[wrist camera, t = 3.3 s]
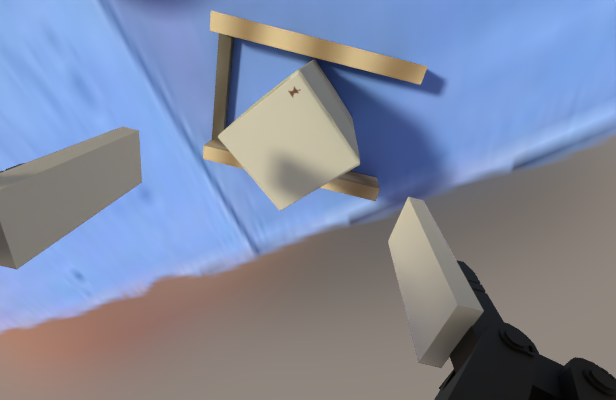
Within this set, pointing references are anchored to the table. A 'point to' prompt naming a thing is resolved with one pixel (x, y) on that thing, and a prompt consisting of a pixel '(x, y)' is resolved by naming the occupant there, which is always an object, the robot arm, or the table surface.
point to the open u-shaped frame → (306, 46)
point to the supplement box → (295, 137)
